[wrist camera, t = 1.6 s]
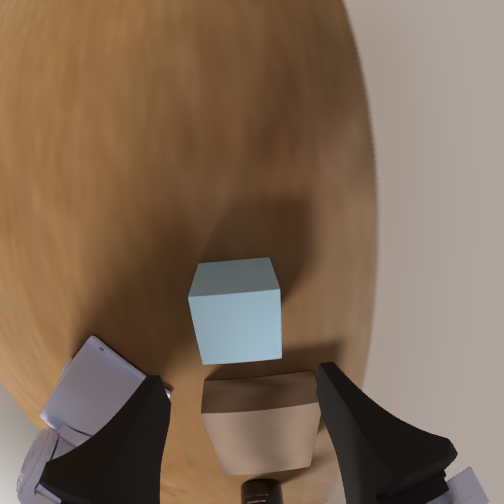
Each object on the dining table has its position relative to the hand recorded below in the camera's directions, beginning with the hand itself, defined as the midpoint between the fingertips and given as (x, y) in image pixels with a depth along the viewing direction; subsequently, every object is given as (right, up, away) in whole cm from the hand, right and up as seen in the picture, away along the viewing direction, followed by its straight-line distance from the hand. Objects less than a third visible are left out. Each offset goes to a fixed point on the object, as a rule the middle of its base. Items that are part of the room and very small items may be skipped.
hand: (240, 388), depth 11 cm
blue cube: (-1, +3, +9) cm, 10 cm away
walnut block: (+2, -12, +14) cm, 19 cm away
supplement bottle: (+2, -33, +22) cm, 40 cm away
